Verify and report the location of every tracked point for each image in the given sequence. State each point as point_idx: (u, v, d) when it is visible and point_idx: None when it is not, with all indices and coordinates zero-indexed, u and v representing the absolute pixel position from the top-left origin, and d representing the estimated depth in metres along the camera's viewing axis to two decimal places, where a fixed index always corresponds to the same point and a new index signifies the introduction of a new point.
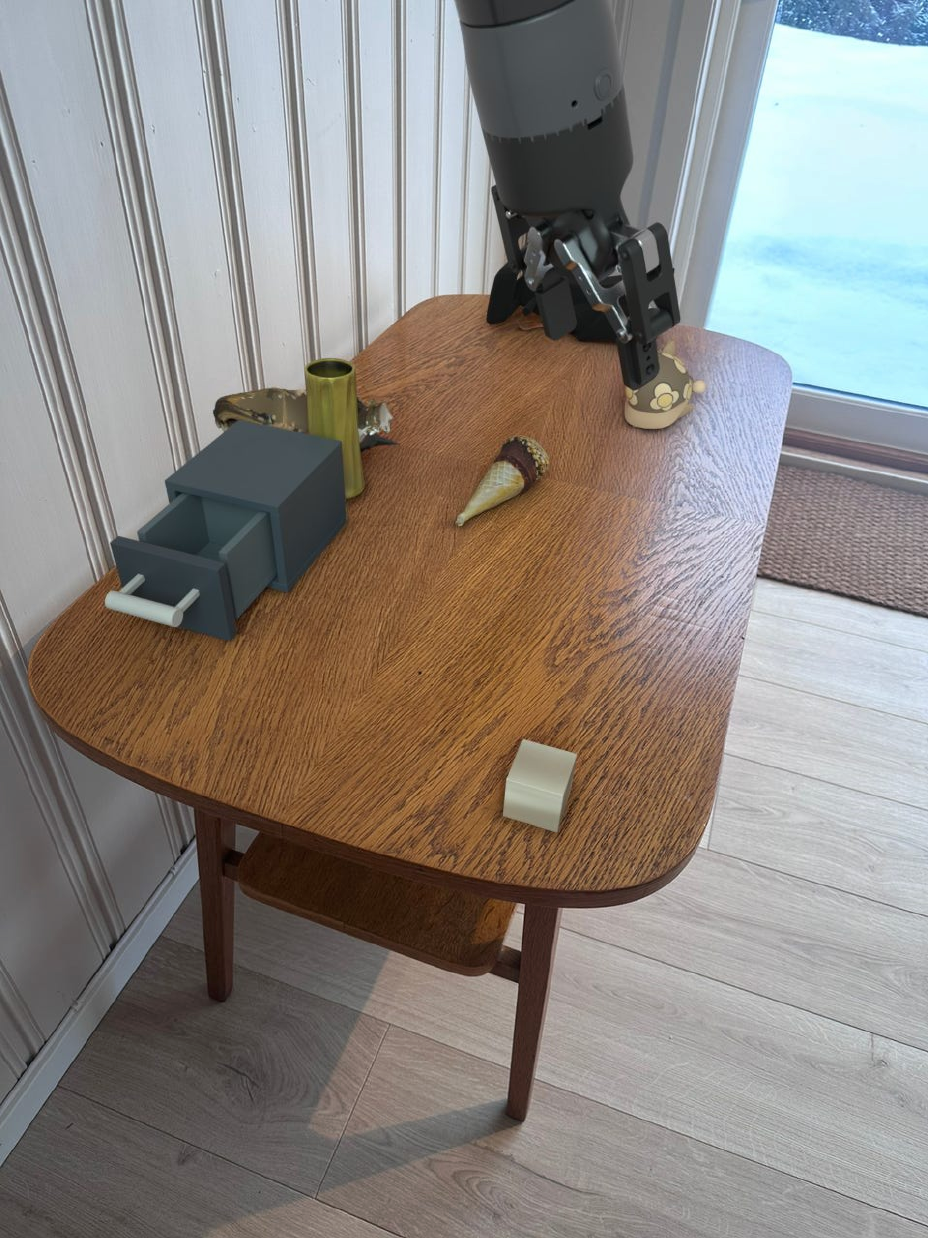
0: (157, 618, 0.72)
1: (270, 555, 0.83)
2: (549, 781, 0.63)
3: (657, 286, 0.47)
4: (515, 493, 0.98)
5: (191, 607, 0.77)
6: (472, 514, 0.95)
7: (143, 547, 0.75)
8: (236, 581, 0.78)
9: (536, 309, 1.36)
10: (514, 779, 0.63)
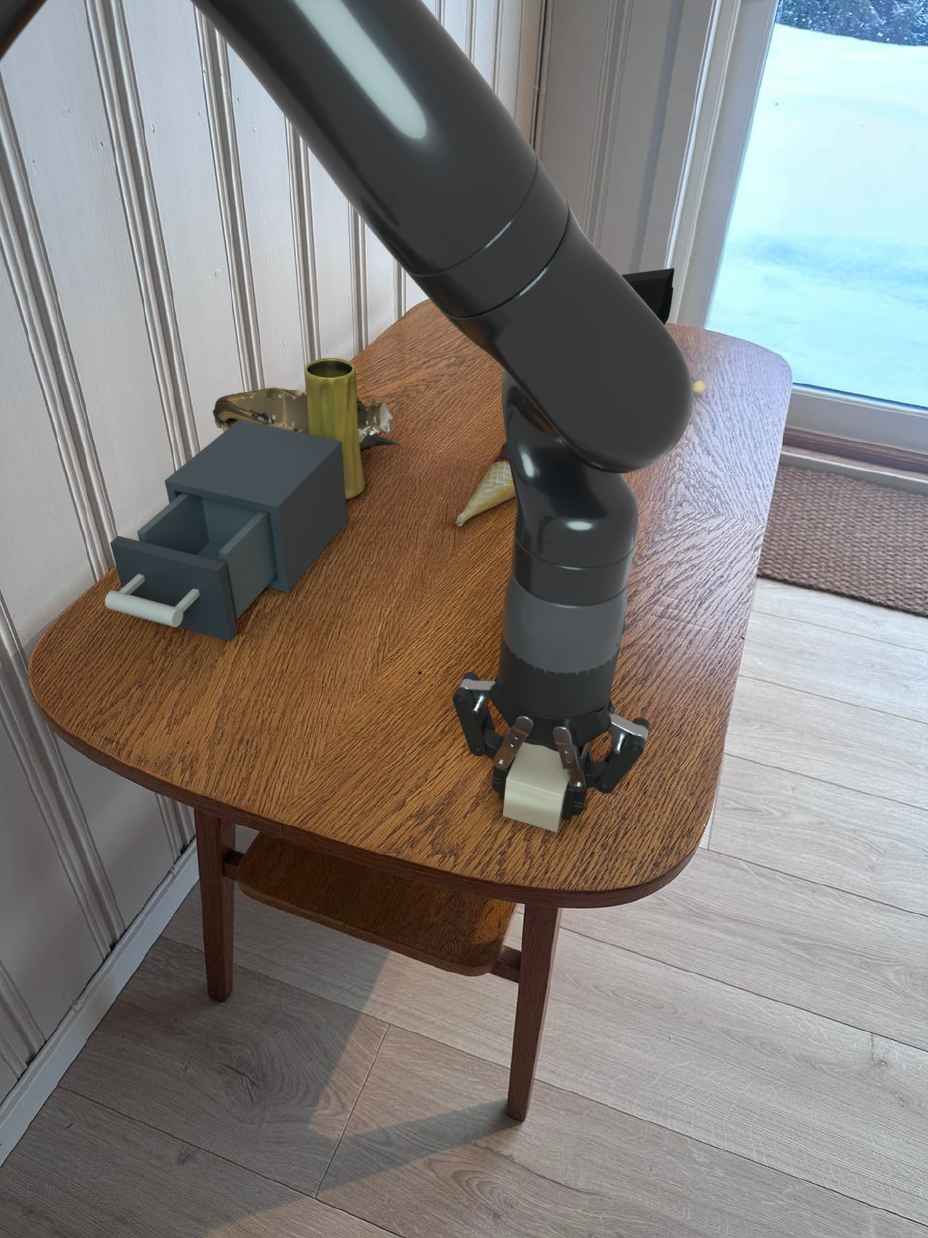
0: (157, 618, 0.72)
1: (270, 555, 0.83)
2: (549, 781, 0.63)
3: None
4: None
5: (191, 607, 0.77)
6: (472, 514, 0.95)
7: (143, 547, 0.75)
8: (236, 581, 0.78)
9: None
10: (513, 779, 0.63)
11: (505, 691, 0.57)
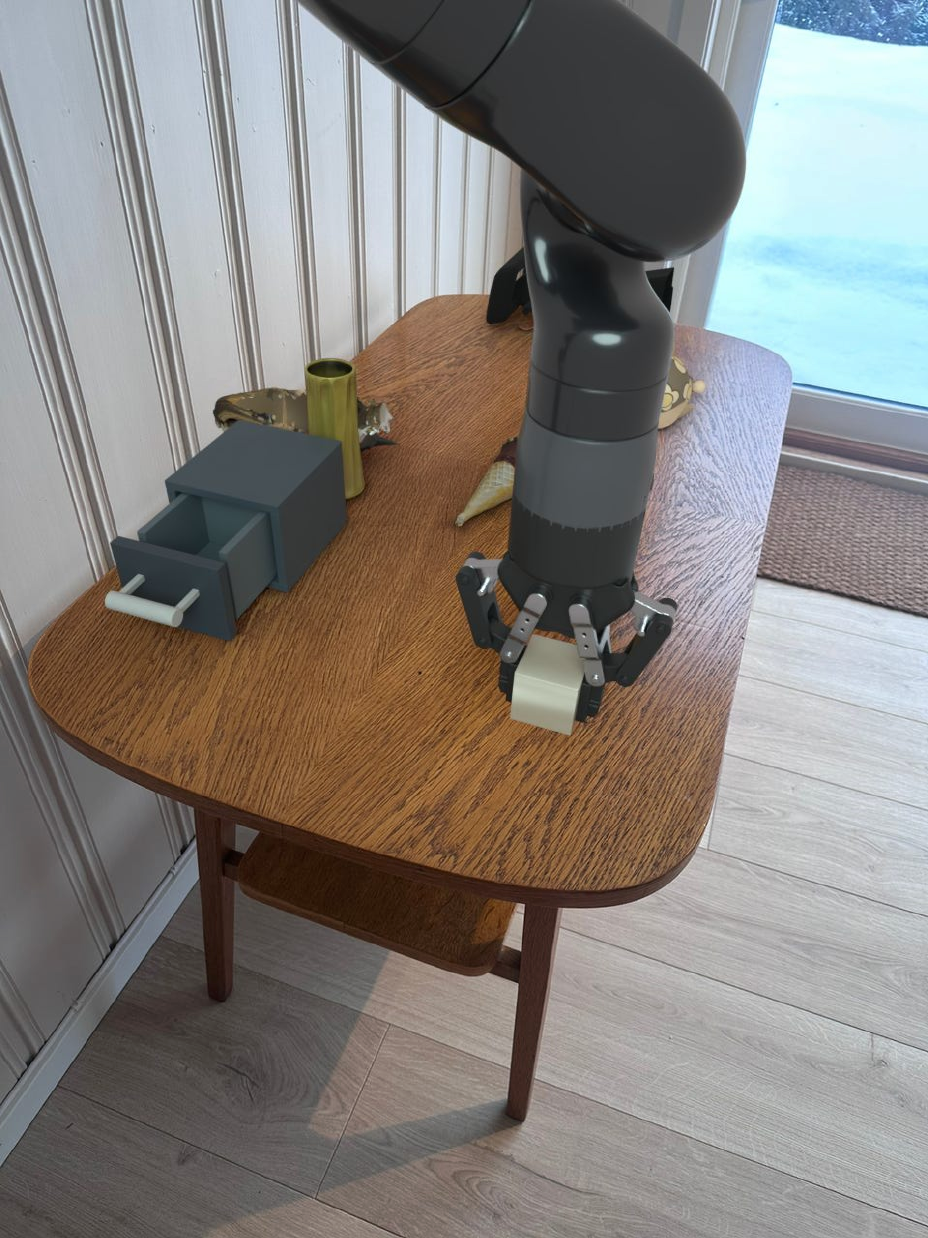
0: (157, 618, 0.72)
1: (270, 555, 0.83)
2: (562, 676, 0.56)
3: None
4: None
5: (191, 607, 0.77)
6: (472, 514, 0.95)
7: (143, 547, 0.75)
8: (236, 581, 0.78)
9: None
10: (523, 673, 0.56)
11: (516, 560, 0.50)
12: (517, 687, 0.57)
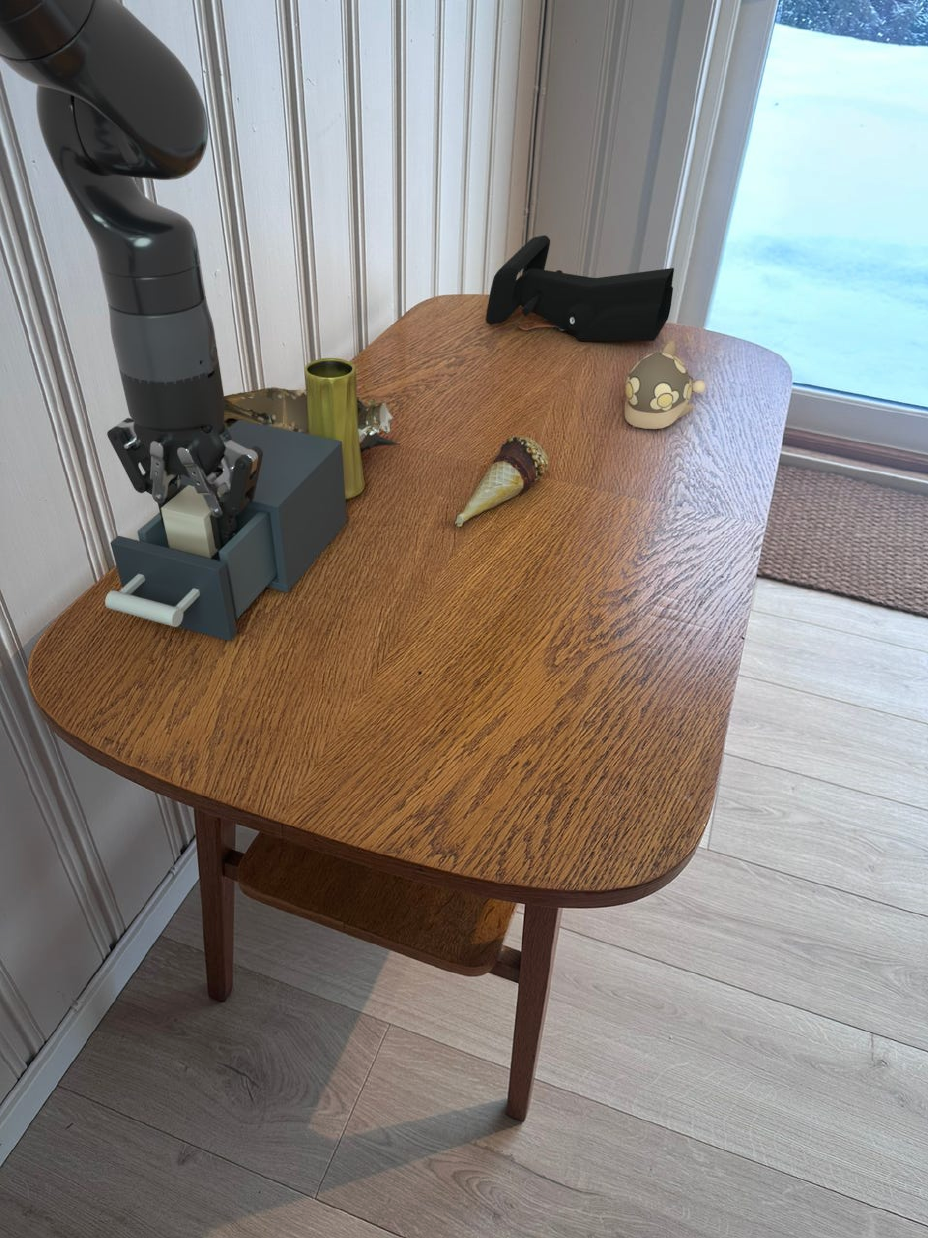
0: (157, 618, 0.72)
1: (271, 555, 0.83)
2: (196, 510, 0.76)
3: (251, 483, 0.73)
4: (514, 494, 0.98)
5: (191, 607, 0.77)
6: (471, 514, 0.95)
7: (143, 547, 0.75)
8: (236, 581, 0.78)
9: (536, 309, 1.36)
10: (167, 508, 0.76)
11: (129, 412, 0.70)
12: (166, 520, 0.76)
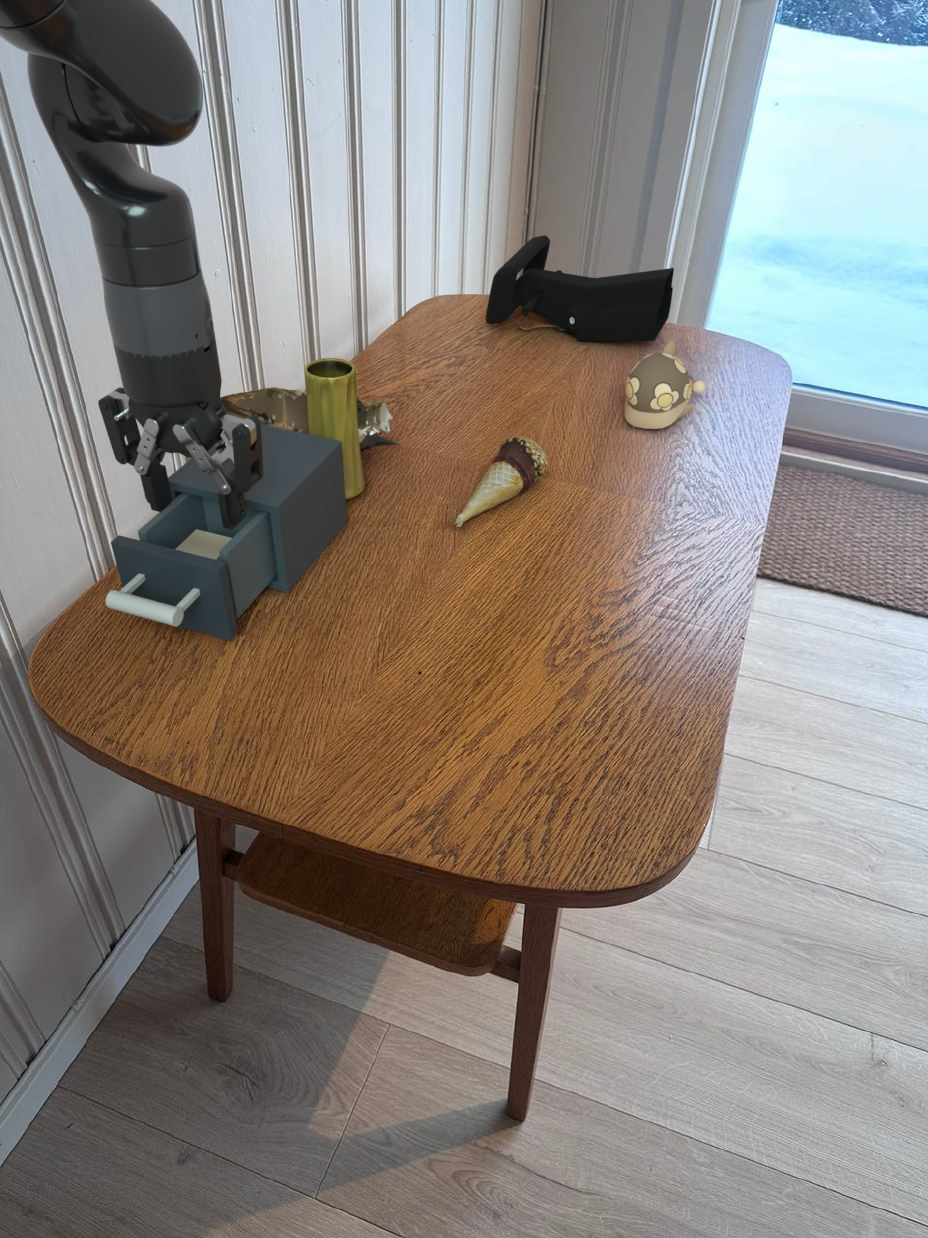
0: (158, 617, 0.72)
1: (271, 554, 0.83)
2: (204, 555, 0.79)
3: (255, 454, 0.71)
4: (514, 494, 0.98)
5: (192, 606, 0.77)
6: (471, 515, 0.95)
7: (143, 547, 0.75)
8: (237, 580, 0.78)
9: (535, 309, 1.36)
10: None
11: (123, 388, 0.68)
12: None
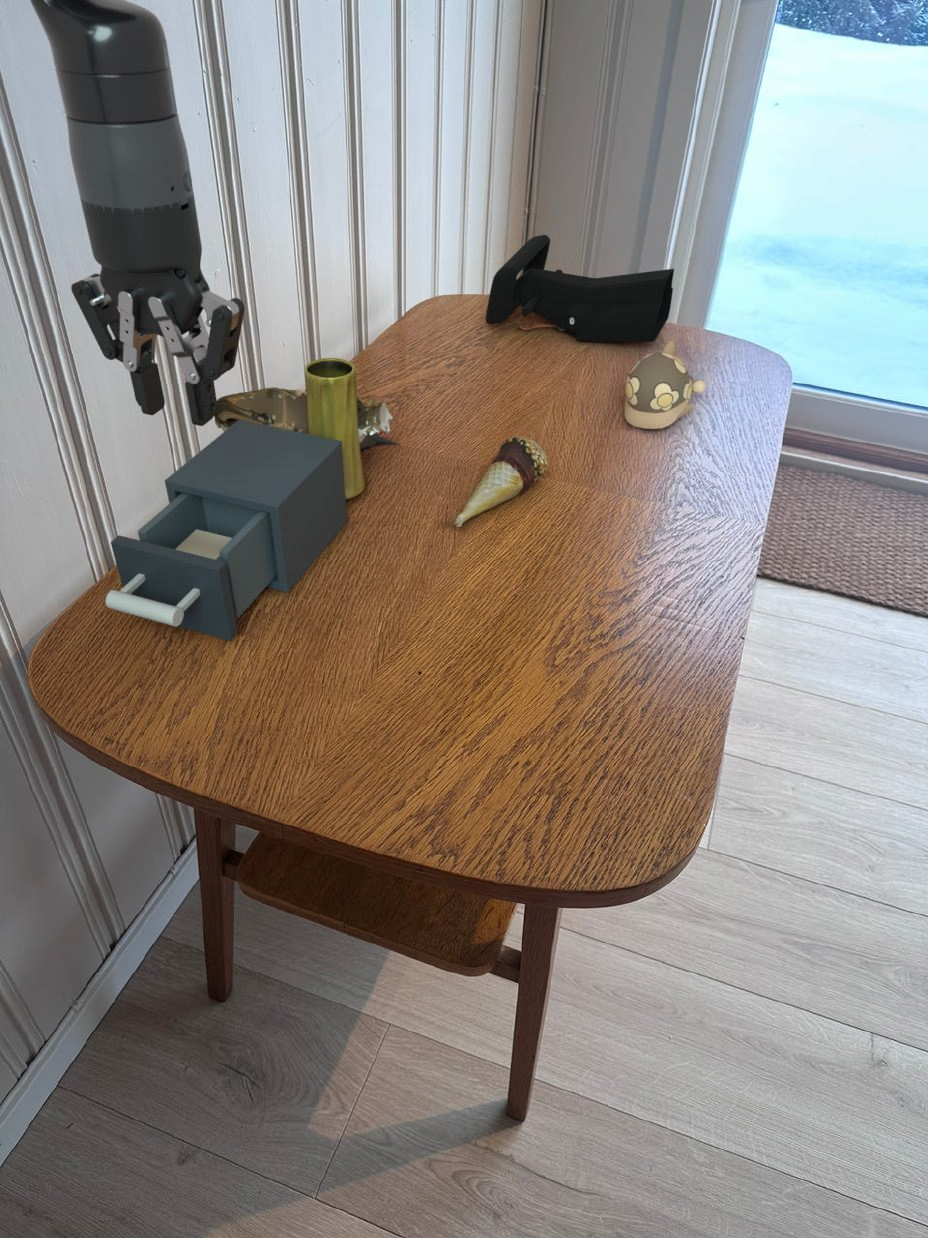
0: (158, 617, 0.72)
1: (271, 554, 0.83)
2: (204, 555, 0.79)
3: (231, 341, 0.66)
4: (514, 494, 0.98)
5: (192, 606, 0.77)
6: (471, 515, 0.95)
7: (143, 547, 0.75)
8: (237, 580, 0.78)
9: (535, 309, 1.36)
10: None
11: (93, 254, 0.62)
12: None
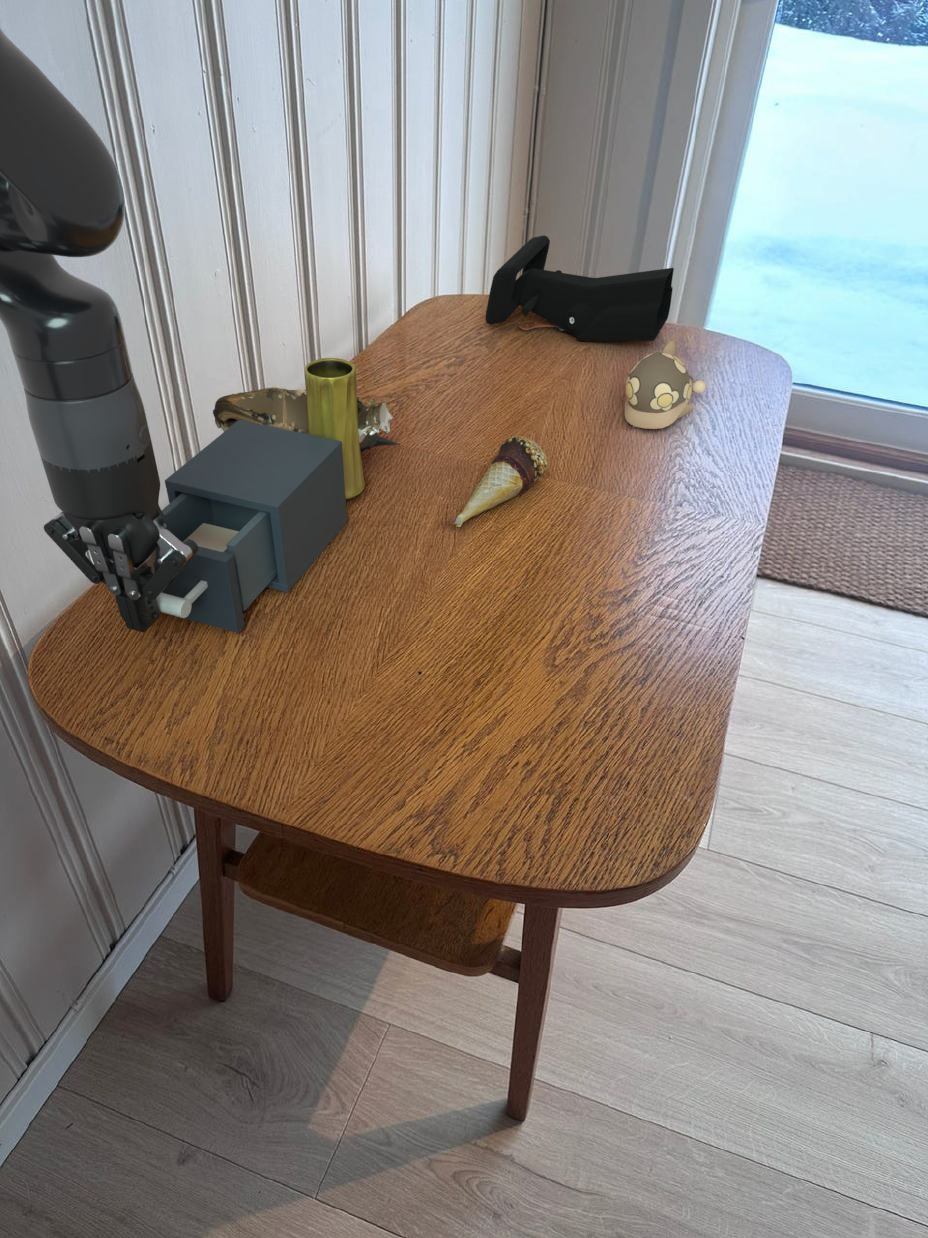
0: (166, 609, 0.73)
1: None
2: (211, 548, 0.80)
3: (177, 573, 0.68)
4: (513, 494, 0.98)
5: (199, 599, 0.78)
6: (471, 515, 0.95)
7: None
8: (243, 573, 0.79)
9: (535, 309, 1.36)
10: None
11: (53, 498, 0.64)
12: None
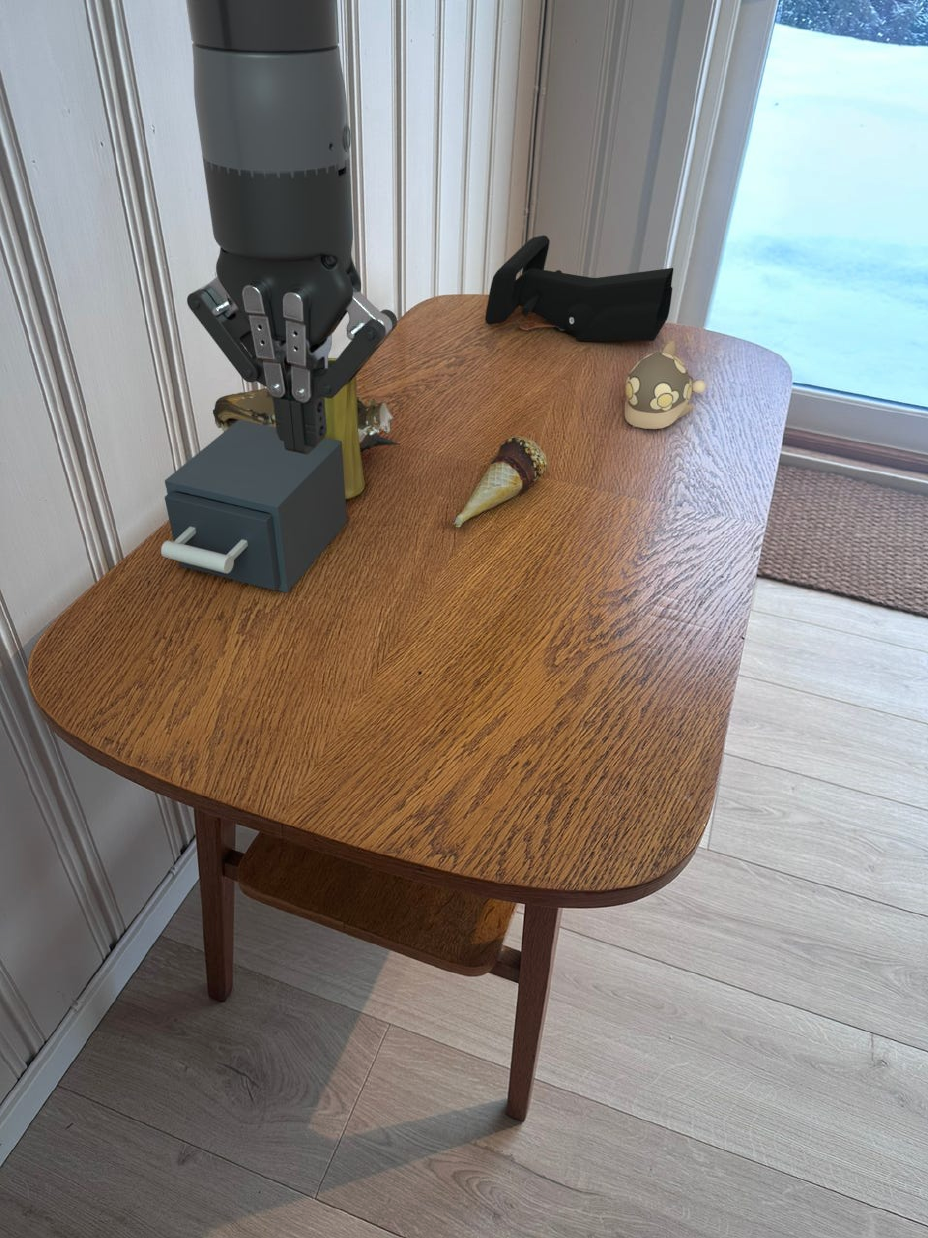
0: (210, 565, 0.78)
1: None
2: None
3: (366, 360, 0.51)
4: (513, 494, 0.98)
5: (239, 557, 0.83)
6: (470, 515, 0.95)
7: (195, 501, 0.81)
8: None
9: (535, 309, 1.36)
10: None
11: (215, 236, 0.47)
12: None
